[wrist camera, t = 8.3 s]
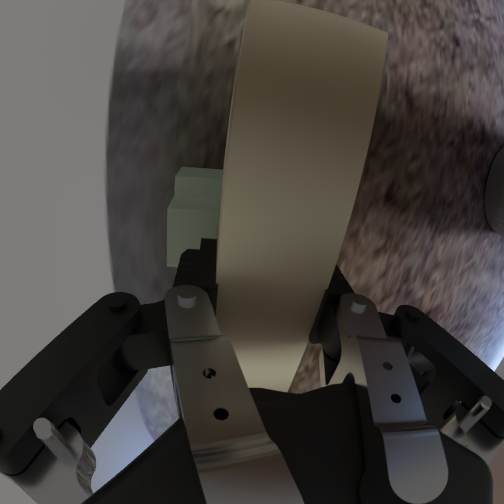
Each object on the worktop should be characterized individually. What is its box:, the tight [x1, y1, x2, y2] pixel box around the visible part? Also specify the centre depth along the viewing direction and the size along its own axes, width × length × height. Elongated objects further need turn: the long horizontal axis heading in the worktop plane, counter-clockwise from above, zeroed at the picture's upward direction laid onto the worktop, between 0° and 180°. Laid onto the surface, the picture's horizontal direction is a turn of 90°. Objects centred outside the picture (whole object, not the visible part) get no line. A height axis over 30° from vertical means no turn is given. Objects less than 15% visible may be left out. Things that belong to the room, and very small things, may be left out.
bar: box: [216, 0, 388, 392], centre depth 11 cm, size 18×4×4 cm, turn 173°
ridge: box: [167, 167, 223, 267], centre depth 16 cm, size 5×8×4 cm, turn 82°
